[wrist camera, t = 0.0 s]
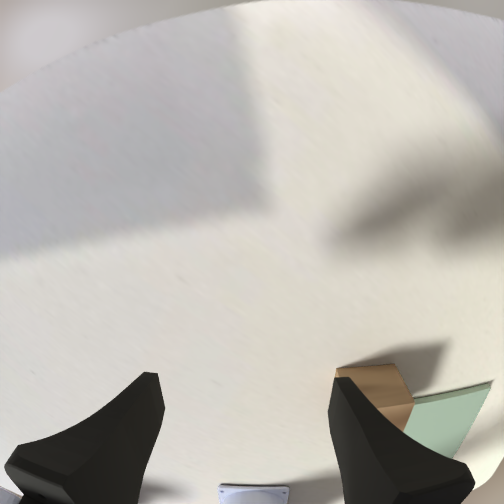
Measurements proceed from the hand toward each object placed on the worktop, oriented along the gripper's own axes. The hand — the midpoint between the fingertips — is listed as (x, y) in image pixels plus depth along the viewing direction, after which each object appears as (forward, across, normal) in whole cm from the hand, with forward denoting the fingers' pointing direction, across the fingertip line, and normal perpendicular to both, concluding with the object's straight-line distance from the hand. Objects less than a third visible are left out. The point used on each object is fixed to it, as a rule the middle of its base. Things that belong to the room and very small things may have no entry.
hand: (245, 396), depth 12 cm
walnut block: (+10, -9, +9) cm, 16 cm away
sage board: (+10, -18, +18) cm, 28 cm away
